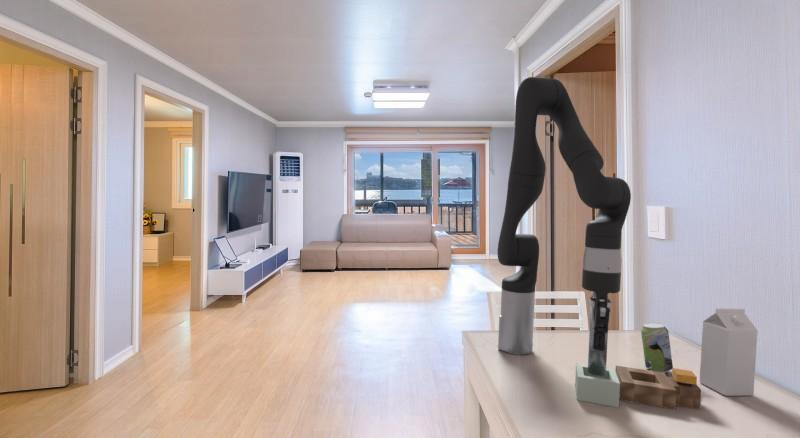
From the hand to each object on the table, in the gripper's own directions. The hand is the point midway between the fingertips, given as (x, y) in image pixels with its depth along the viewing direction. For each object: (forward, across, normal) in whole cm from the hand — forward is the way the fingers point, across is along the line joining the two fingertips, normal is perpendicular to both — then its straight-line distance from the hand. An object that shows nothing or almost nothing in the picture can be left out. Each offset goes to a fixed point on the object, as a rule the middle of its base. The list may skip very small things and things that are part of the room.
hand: (597, 346), depth 90 cm
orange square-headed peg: (+10, +5, -18) cm, 21 cm away
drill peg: (+6, 0, 0) cm, 6 cm away
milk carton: (+11, +17, -29) cm, 36 cm away
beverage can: (+11, +23, -16) cm, 30 cm away
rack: (+11, 0, 0) cm, 11 cm away
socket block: (+11, +5, -12) cm, 17 cm away
